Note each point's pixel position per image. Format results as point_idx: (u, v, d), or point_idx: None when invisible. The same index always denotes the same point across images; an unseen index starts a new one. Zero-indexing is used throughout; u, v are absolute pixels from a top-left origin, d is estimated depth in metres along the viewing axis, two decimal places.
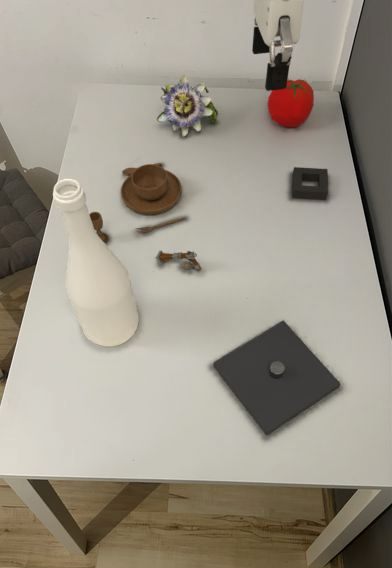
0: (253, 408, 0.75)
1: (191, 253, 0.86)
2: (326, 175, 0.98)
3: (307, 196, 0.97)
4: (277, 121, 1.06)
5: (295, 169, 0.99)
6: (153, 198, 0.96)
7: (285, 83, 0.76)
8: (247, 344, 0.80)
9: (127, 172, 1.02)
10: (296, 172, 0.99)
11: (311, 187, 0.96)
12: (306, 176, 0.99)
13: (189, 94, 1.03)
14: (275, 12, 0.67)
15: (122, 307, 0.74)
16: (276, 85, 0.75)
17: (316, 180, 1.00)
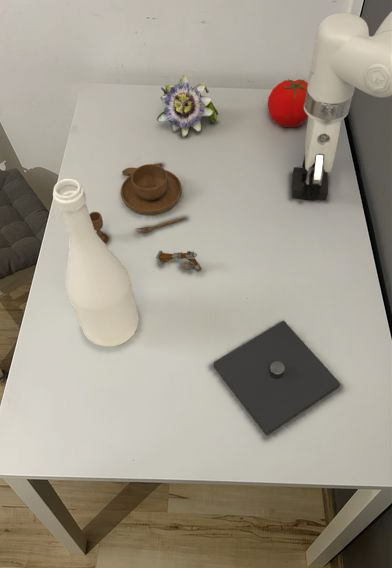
0: (253, 408, 0.75)
1: (191, 253, 0.86)
2: (326, 175, 0.98)
3: None
4: (277, 121, 1.06)
5: (295, 169, 0.99)
6: (153, 198, 0.96)
7: (317, 195, 0.96)
8: (247, 344, 0.80)
9: (127, 172, 1.02)
10: (296, 172, 0.99)
11: None
12: (306, 176, 0.99)
13: (189, 94, 1.03)
14: (313, 150, 0.86)
15: (122, 307, 0.74)
16: (309, 196, 0.95)
17: None
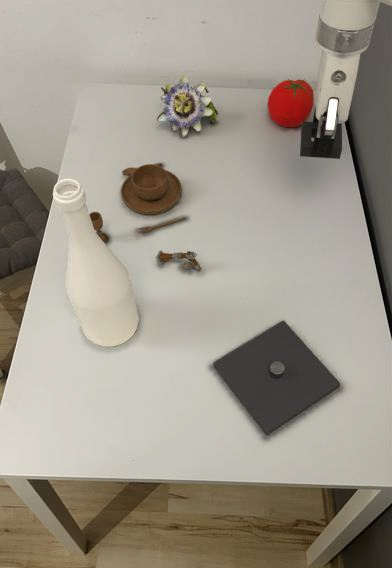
0: (253, 408, 0.75)
1: (191, 253, 0.86)
2: (340, 130, 0.84)
3: None
4: (277, 121, 1.06)
5: (304, 123, 0.85)
6: (153, 198, 0.96)
7: (329, 152, 0.82)
8: (247, 344, 0.80)
9: (127, 172, 1.02)
10: (305, 127, 0.85)
11: None
12: None
13: (189, 94, 1.03)
14: (326, 93, 0.72)
15: (122, 307, 0.74)
16: (320, 153, 0.81)
17: None
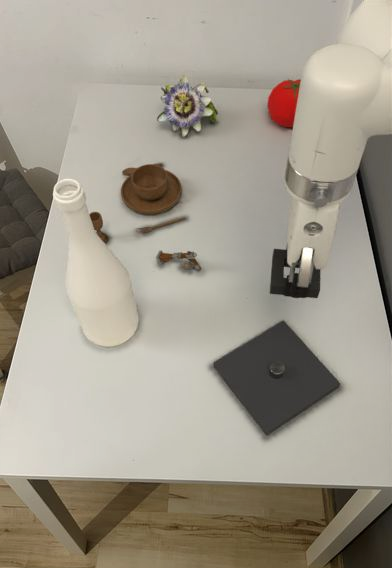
0: (253, 408, 0.75)
1: (191, 253, 0.86)
2: None
3: None
4: (277, 121, 1.06)
5: (275, 252, 0.71)
6: (153, 198, 0.96)
7: (305, 294, 0.67)
8: (247, 344, 0.80)
9: (127, 172, 1.02)
10: (276, 257, 0.70)
11: None
12: None
13: (189, 94, 1.03)
14: (298, 243, 0.58)
15: (122, 307, 0.74)
16: (294, 296, 0.67)
17: None
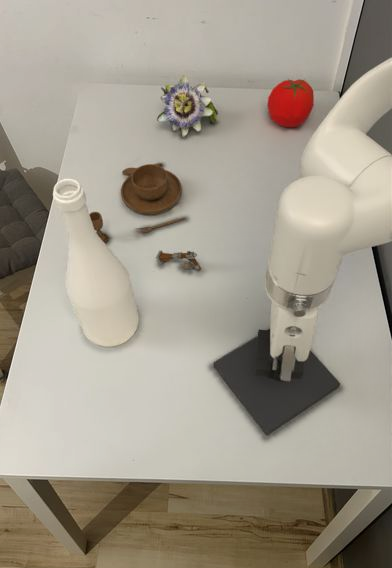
0: (253, 408, 0.75)
1: (191, 253, 0.86)
2: None
3: None
4: (277, 121, 1.06)
5: (260, 333, 0.73)
6: (153, 198, 0.96)
7: None
8: (247, 344, 0.80)
9: (127, 172, 1.02)
10: (260, 338, 0.72)
11: None
12: None
13: (189, 94, 1.03)
14: (279, 341, 0.60)
15: (122, 307, 0.74)
16: (278, 379, 0.69)
17: None
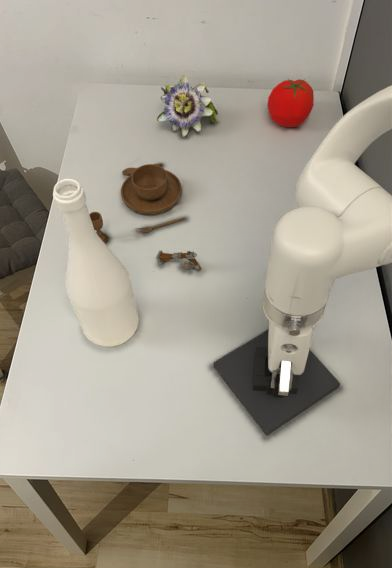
0: (253, 408, 0.75)
1: (191, 253, 0.86)
2: None
3: None
4: (277, 121, 1.06)
5: (257, 350, 0.77)
6: (153, 198, 0.96)
7: (287, 394, 0.72)
8: (247, 344, 0.80)
9: (127, 172, 1.02)
10: (258, 355, 0.77)
11: None
12: None
13: (189, 94, 1.03)
14: (276, 357, 0.63)
15: (122, 307, 0.74)
16: (276, 396, 0.71)
17: None
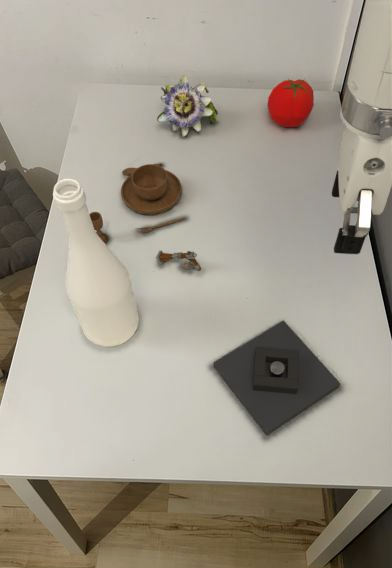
0: (253, 408, 0.75)
1: (191, 253, 0.86)
2: (297, 360, 0.76)
3: (272, 390, 0.75)
4: (277, 121, 1.06)
5: (257, 350, 0.77)
6: (153, 198, 0.96)
7: (359, 249, 0.62)
8: (247, 344, 0.80)
9: (127, 172, 1.02)
10: (258, 355, 0.77)
11: (276, 380, 0.75)
12: (272, 359, 0.77)
13: (189, 94, 1.03)
14: (356, 184, 0.53)
15: (122, 307, 0.74)
16: (346, 251, 0.61)
17: (284, 363, 0.78)
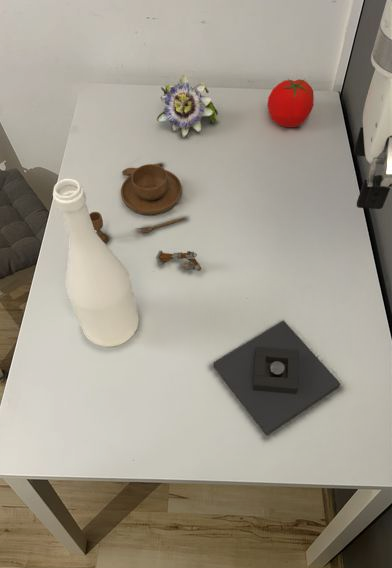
0: (253, 408, 0.75)
1: (191, 253, 0.86)
2: (297, 360, 0.76)
3: (272, 390, 0.75)
4: (277, 121, 1.06)
5: (257, 350, 0.77)
6: (153, 198, 0.96)
7: (382, 203, 0.62)
8: (247, 344, 0.80)
9: (127, 172, 1.02)
10: (258, 355, 0.77)
11: (276, 380, 0.75)
12: (272, 359, 0.77)
13: (189, 94, 1.03)
14: (384, 130, 0.54)
15: (122, 307, 0.74)
16: (370, 205, 0.62)
17: (284, 363, 0.78)
